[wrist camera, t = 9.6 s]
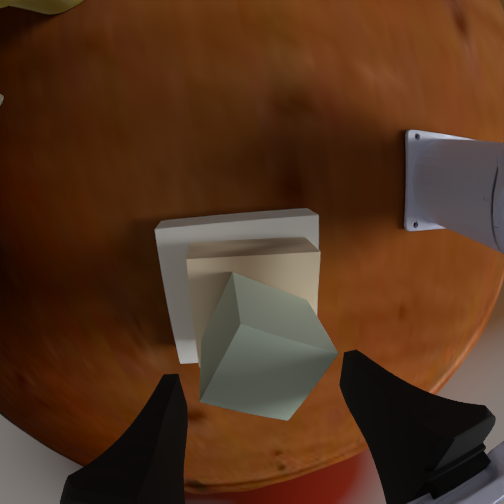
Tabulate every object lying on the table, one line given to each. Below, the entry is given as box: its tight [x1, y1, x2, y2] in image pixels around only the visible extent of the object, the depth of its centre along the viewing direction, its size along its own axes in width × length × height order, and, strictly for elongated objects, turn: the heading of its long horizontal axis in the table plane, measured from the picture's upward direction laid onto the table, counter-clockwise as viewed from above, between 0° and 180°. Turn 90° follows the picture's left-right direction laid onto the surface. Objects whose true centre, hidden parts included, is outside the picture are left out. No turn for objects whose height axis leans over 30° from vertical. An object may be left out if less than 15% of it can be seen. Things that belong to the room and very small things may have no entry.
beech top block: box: [186, 237, 320, 367], centre depth 18 cm, size 7×7×3 cm
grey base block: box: [155, 208, 319, 364], centre depth 21 cm, size 10×10×3 cm
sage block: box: [199, 272, 338, 420], centre depth 14 cm, size 4×4×5 cm
